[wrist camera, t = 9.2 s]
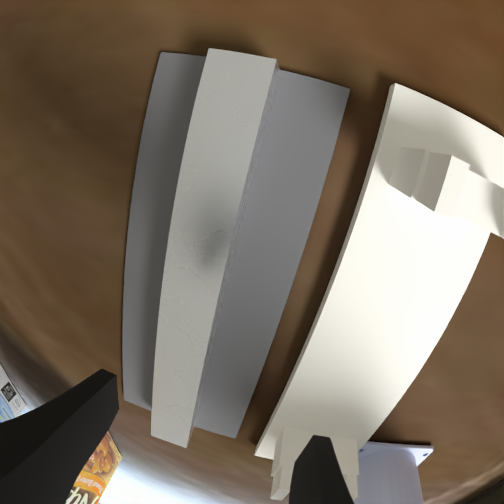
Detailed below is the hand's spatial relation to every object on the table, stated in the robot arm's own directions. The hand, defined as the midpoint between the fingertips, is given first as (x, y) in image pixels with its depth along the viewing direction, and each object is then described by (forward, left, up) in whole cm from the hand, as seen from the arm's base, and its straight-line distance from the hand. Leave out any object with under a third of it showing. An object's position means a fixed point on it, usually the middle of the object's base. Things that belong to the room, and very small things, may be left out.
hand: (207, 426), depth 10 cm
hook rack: (0, -8, -10) cm, 13 cm away
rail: (0, +3, -9) cm, 10 cm away
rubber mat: (0, +3, -10) cm, 10 cm away
